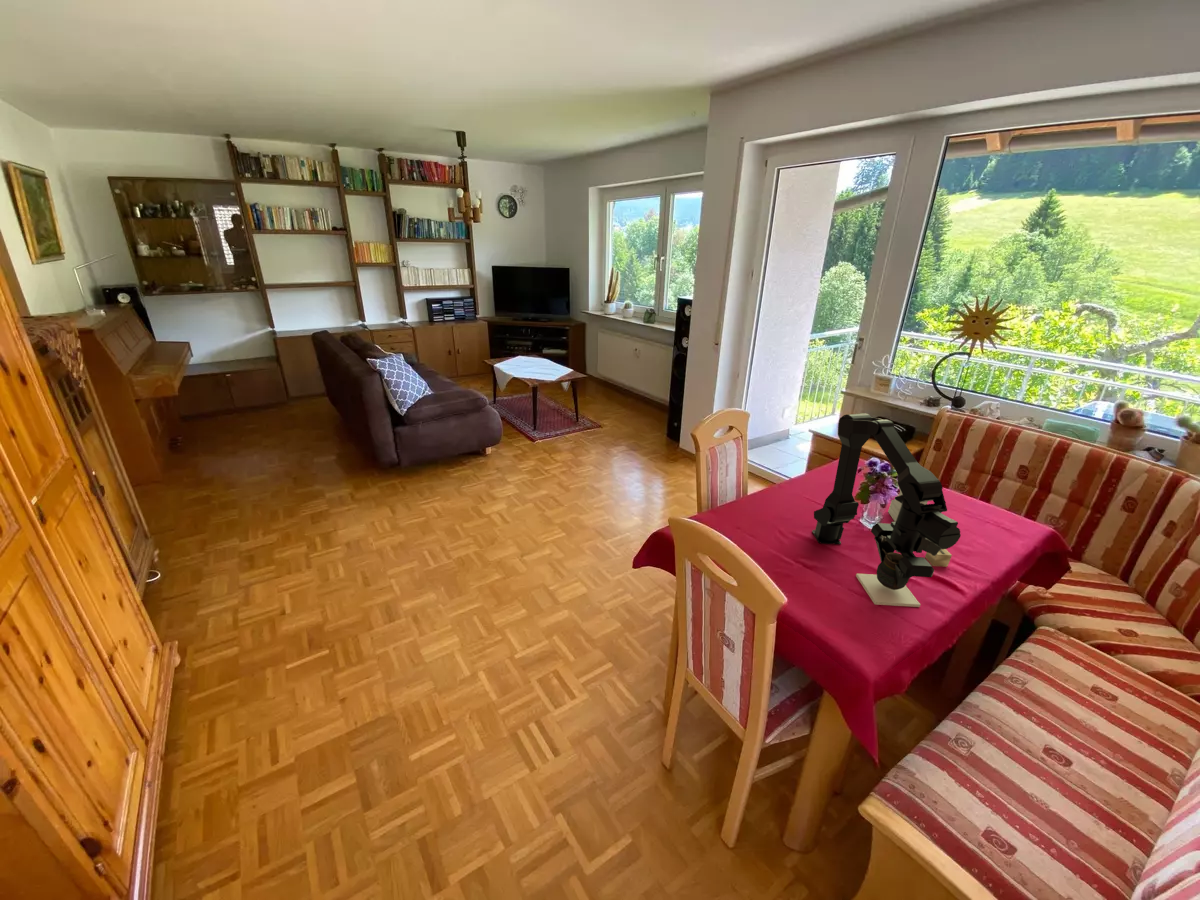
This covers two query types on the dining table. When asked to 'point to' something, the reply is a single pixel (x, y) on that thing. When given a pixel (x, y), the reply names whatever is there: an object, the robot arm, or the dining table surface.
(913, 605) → the cream square tile
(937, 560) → the letter cube
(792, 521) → the dining table surface
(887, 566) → the mate gourd
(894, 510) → the supplement box
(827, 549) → the dining table surface
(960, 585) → the dining table surface
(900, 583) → the robot arm
